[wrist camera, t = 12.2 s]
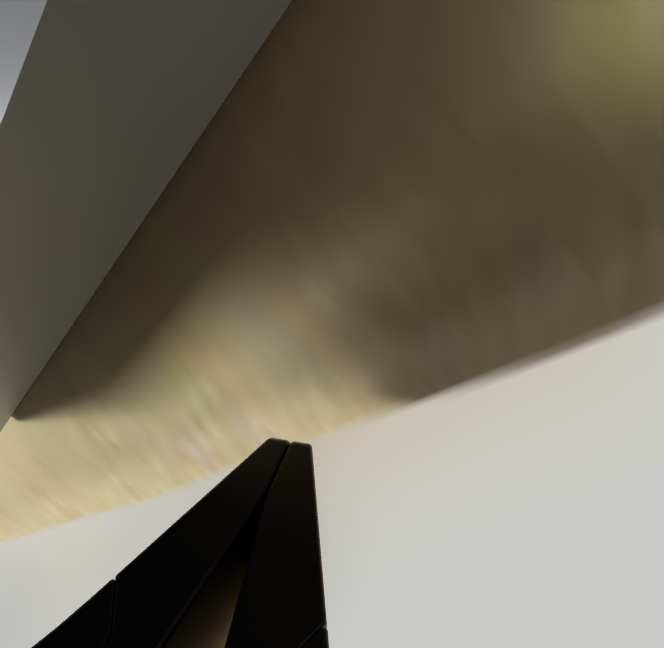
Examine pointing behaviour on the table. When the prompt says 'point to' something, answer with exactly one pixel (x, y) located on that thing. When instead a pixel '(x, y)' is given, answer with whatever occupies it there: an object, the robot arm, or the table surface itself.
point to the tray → (97, 144)
